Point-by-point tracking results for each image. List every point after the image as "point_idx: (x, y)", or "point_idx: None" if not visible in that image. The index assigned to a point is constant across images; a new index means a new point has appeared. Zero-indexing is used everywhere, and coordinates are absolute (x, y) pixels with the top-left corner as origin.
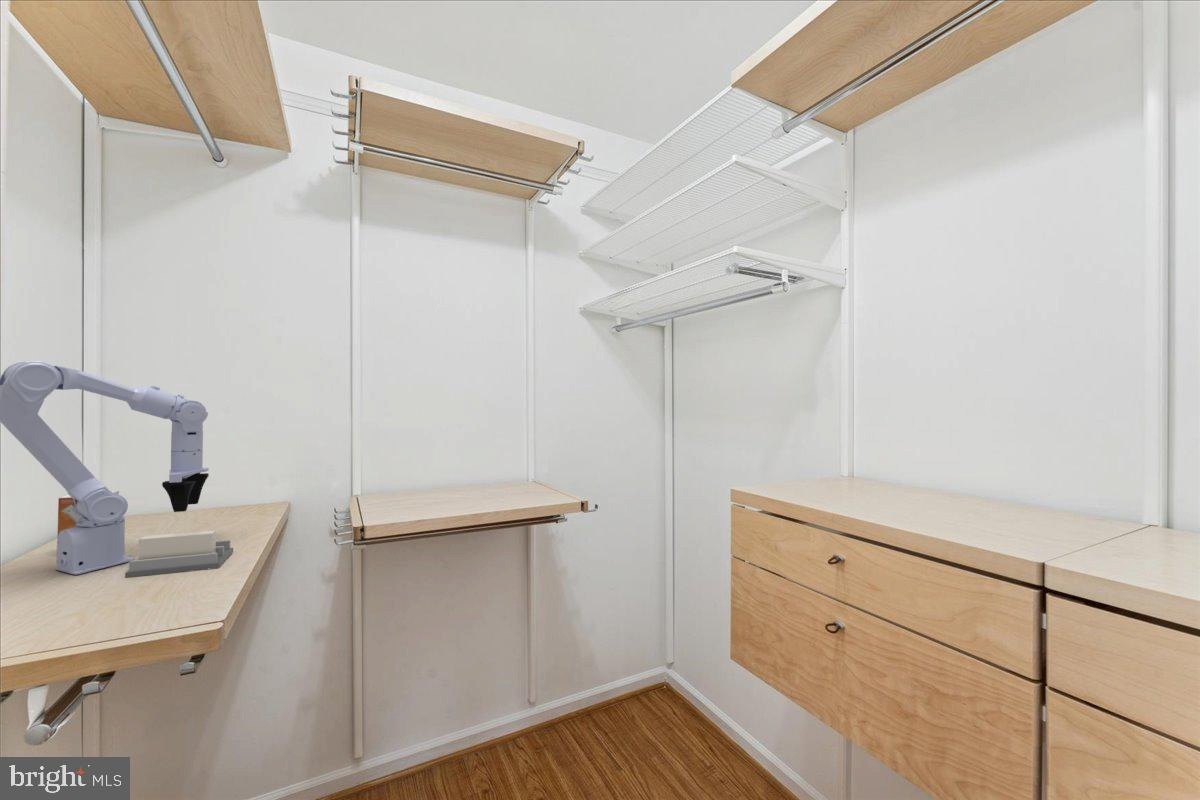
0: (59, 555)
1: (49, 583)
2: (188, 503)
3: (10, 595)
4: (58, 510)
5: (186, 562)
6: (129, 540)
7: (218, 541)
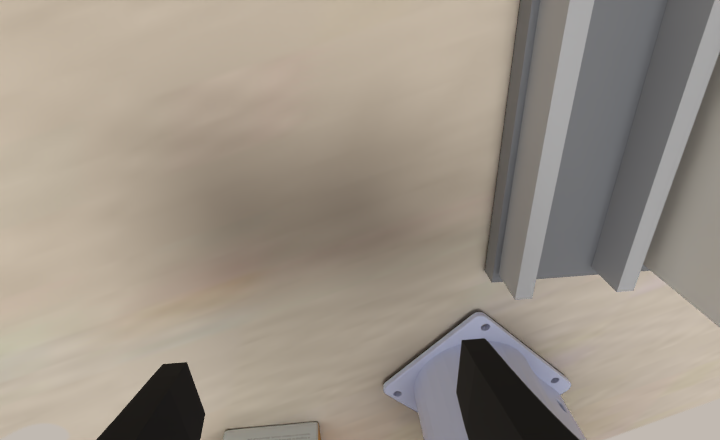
0: None
1: (604, 398)
2: (198, 412)
3: (658, 419)
4: None
5: None
6: None
7: (588, 2)
